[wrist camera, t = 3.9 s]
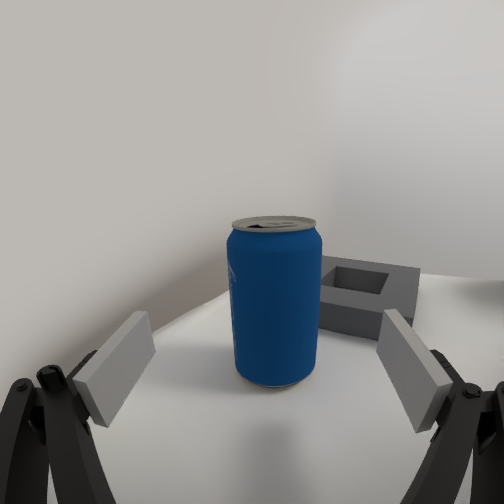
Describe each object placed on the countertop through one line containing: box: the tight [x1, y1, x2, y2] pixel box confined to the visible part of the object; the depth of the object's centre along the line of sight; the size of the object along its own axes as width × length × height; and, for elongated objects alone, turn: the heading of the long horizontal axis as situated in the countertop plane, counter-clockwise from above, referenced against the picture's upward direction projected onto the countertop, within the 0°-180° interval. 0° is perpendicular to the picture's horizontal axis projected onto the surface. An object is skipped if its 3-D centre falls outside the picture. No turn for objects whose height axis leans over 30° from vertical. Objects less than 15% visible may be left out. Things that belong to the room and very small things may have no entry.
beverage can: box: [227, 216, 322, 387], centre depth 20 cm, size 6×6×12 cm
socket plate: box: [318, 256, 420, 340], centre depth 33 cm, size 16×16×3 cm
